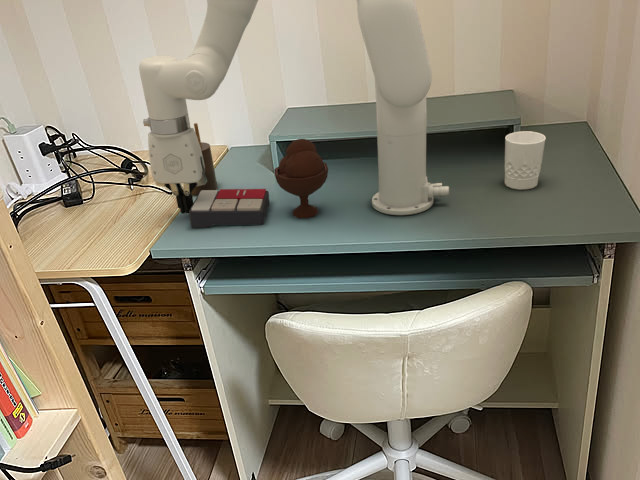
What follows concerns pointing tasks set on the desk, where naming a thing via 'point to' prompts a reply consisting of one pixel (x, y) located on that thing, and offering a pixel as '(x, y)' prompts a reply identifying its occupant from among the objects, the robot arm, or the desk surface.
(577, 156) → the desk surface
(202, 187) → the pencil cup
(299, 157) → the ice cream bowl
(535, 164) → the white cup
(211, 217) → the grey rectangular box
